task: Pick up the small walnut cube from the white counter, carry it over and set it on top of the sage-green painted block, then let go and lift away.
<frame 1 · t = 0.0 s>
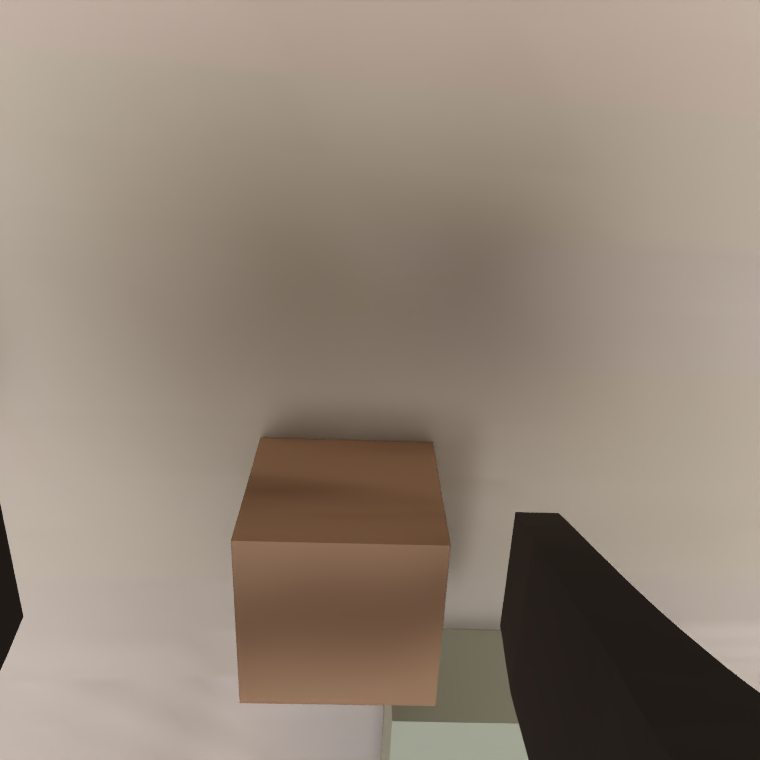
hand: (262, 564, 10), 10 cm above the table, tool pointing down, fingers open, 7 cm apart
walnut cube: (345, 511, 22), on the table
sage block: (507, 721, 26), on the table
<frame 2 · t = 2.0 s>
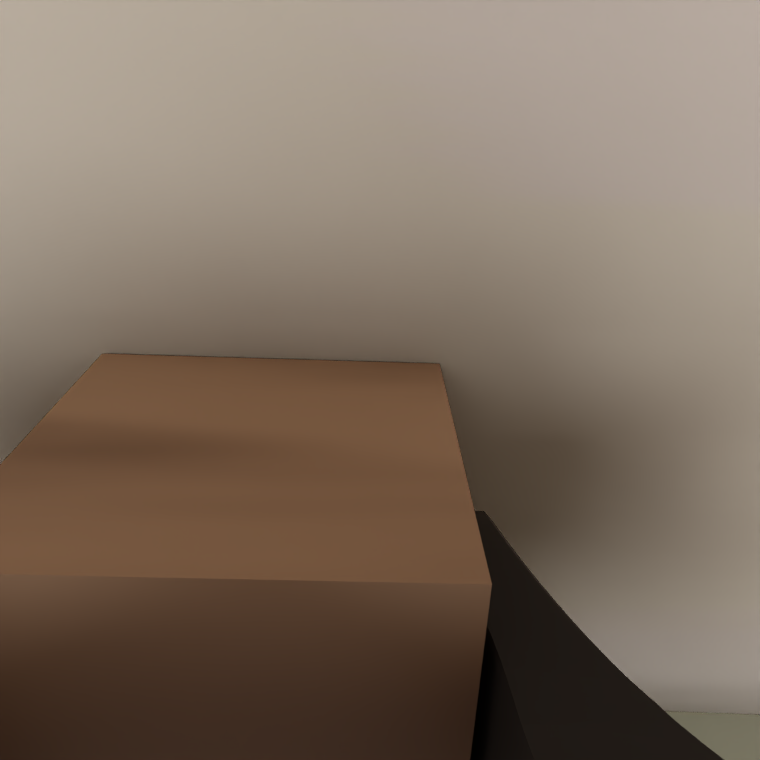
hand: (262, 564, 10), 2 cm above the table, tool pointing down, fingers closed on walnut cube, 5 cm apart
walnut cube: (275, 501, 12), on the table, touching gripper
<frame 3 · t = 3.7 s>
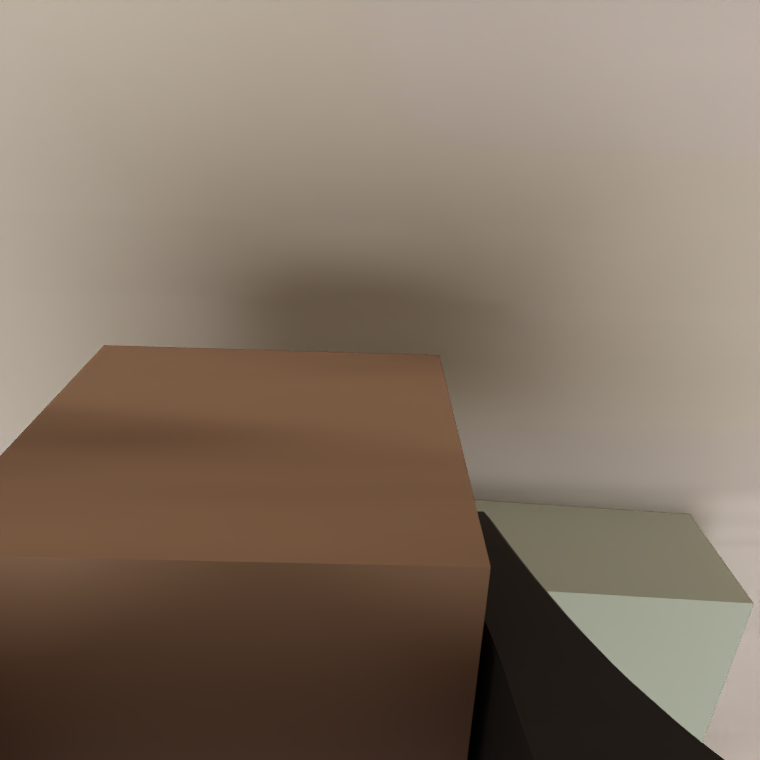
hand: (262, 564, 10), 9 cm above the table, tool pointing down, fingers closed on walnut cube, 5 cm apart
walnut cube: (276, 492, 12), point 7 cm above the table, touching gripper
sage block: (505, 621, 22), on the table
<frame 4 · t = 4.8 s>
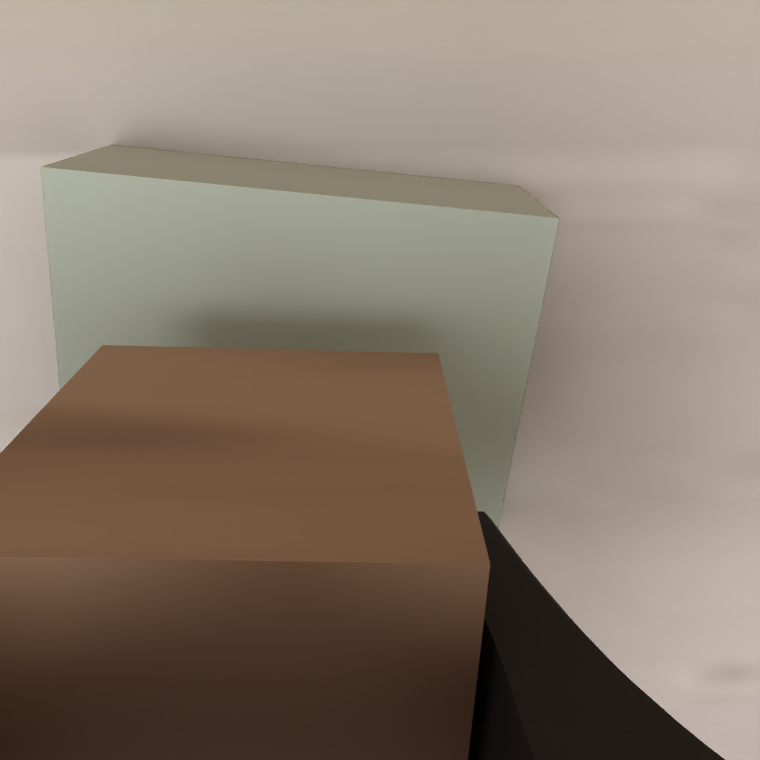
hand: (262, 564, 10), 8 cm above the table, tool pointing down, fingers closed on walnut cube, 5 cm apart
walnut cube: (275, 492, 12), point 6 cm above the table, touching gripper
sage block: (307, 350, 18), on the table
when the fingers open (7 cm above the table, at t = 5.6 s): walnut cube drops 1 cm, resting on sage block.
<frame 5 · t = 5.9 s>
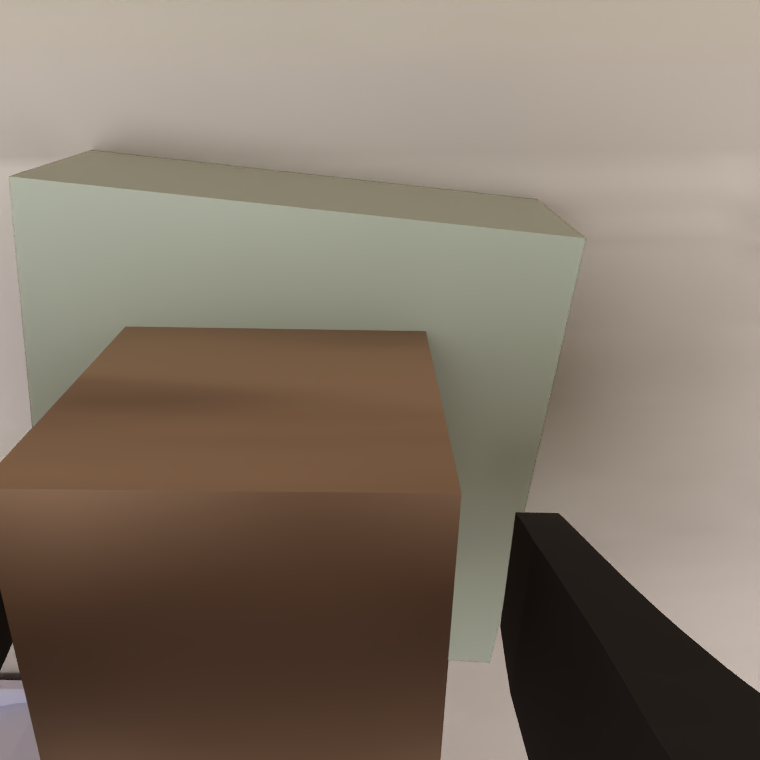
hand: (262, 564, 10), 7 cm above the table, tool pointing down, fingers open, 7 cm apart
walnut cube: (281, 459, 13), point 4 cm above the table, touching sage block
sage block: (304, 371, 17), on the table, touching walnut cube
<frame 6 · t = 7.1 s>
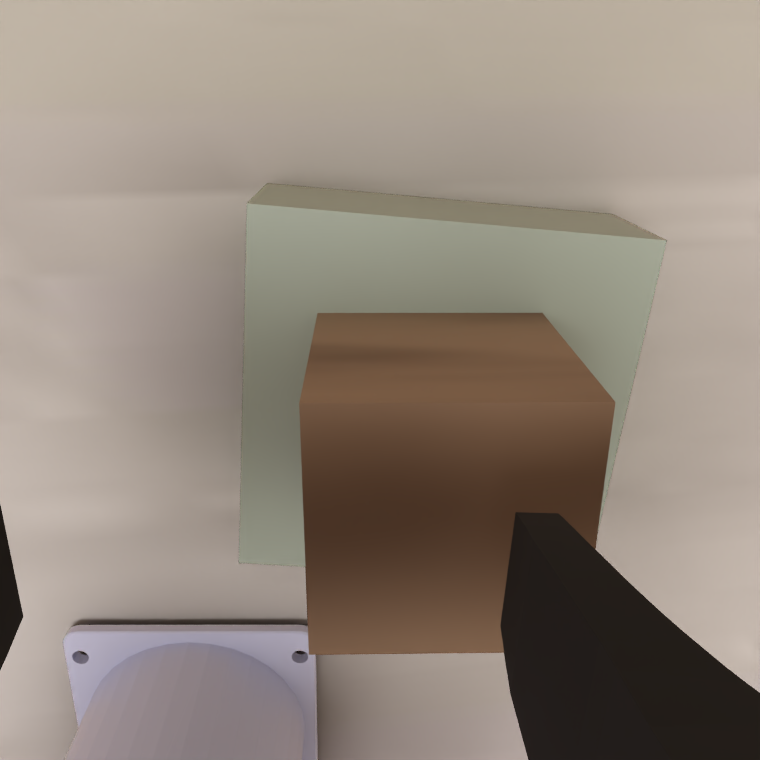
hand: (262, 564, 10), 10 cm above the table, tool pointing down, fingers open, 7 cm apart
walnut cube: (426, 415, 17), point 4 cm above the table
sage block: (421, 356, 21), on the table
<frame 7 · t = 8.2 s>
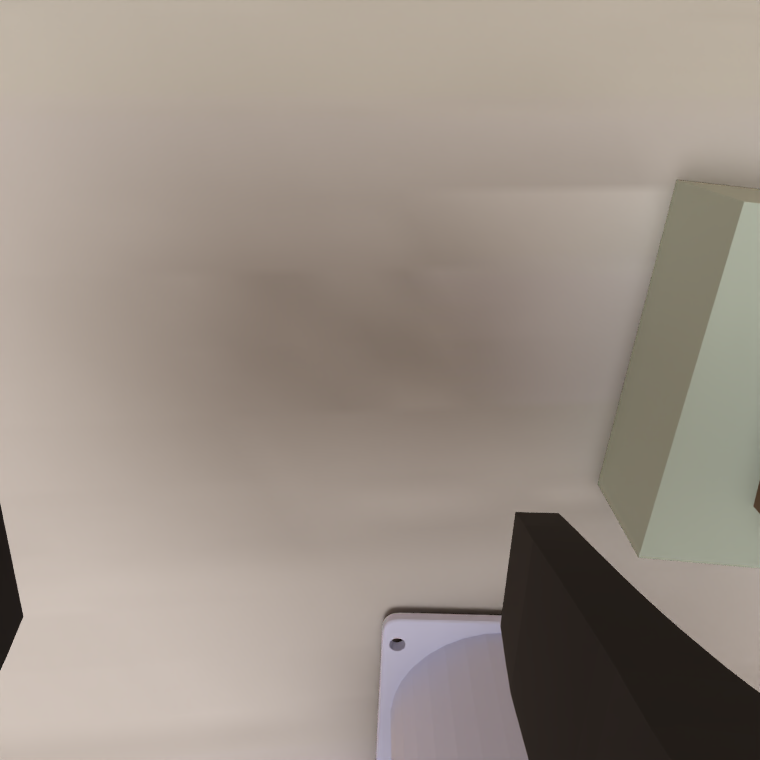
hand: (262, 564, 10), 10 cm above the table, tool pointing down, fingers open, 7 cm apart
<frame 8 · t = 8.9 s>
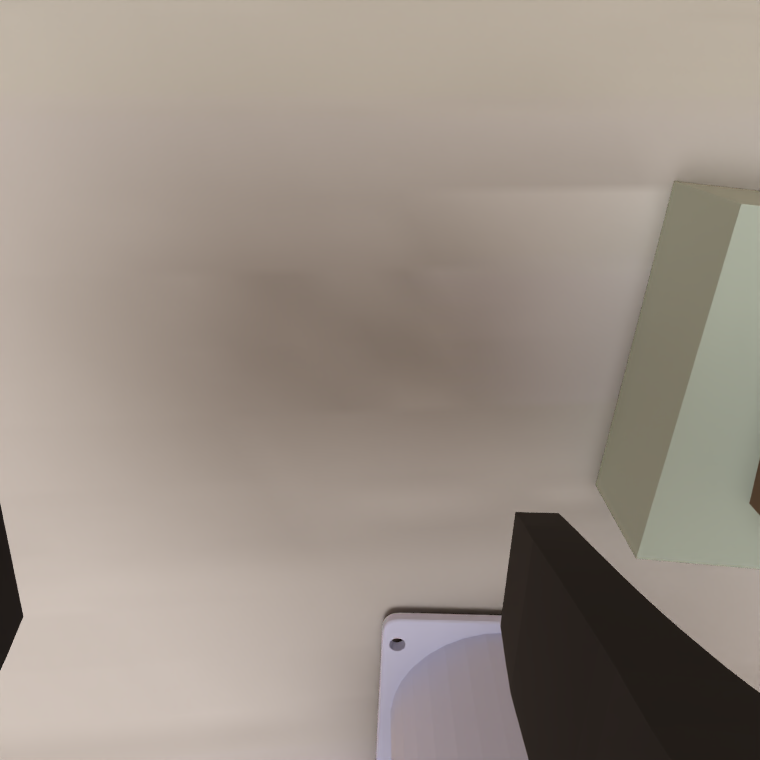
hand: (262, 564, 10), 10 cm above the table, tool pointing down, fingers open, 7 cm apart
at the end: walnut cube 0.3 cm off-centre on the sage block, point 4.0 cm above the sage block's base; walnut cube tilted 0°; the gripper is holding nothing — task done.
